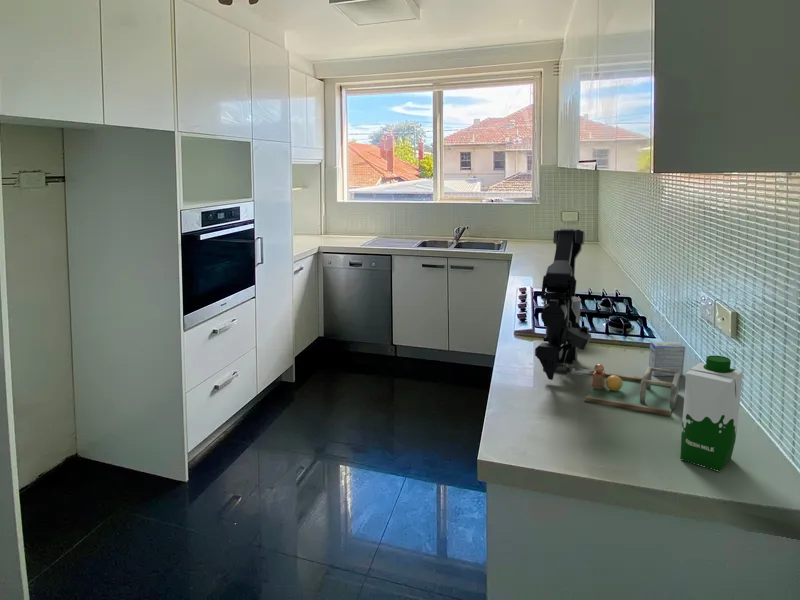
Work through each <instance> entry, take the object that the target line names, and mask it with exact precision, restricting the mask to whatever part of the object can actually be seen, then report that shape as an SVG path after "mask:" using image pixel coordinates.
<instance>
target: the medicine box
mask: <svg viewBox="0 0 800 600" xmlns="http://www.w3.org/2000/svg"><path fill="white" fill-rule="evenodd" d="M685 354H686V346H685V345H684V344H682V343H681V342H679V341H651V342H650V343H649V354H648V355H649V356H648V367H653V368H660V369H668V370H675V371H678V372H680V377H681V376H684V365H685ZM658 376H659V377H660V376H661V377H663V376H664V377H665V376H667V377H669V376H671V377H674V376H675V374H673V373H666V372H659V371H652V377H658Z"/></svg>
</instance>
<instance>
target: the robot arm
mask: <svg viewBox="0 0 800 600" xmlns="http://www.w3.org/2000/svg"><path fill="white" fill-rule="evenodd" d="M585 235H586V234H585V231H582V230H581V228H558V229H556V230H554V231H553V238H552V239H553V242H552V243H553V244H554V245H555V253H554V258H553V262H552V263H551V264H550V265H548V266H547V269H546V273H545V274H543V276H542V277H543V279H542V285H541V293H540V294H541V295H540V299H541V300H546V303H545V306H544V308H543V309H542V310H541V313H540V318H541V321H542V323H543V327H545V336H544V337H543V340H542V341H543V342H541V343H540V344H539V345H538V346H536V348H535V349H534V356H535V357H536V358H537V359H538V361H539V362H540V363H541V366H542V369H543V368H544V370H545V372H544V373H545V375H546V377H547V379H548V380H550V381H552V380H553V379H554V377H555V373H554V372H555V367H556V363H563V364H572V363H574V361H575V360H576V359H577V358H578V354H579V353H578V349H579V350H582V351H585V349H586V348H587V347H588V345H589V343H590V340H591V338H592V334H591V333H590V328H589V327H587V326H585V325H583V326H581V325H580V324H579V322H577V318H578V317H577V315H576V313H575V311H574V309H573V297H576V292H577V291H576V290H577V279H576V277H575V272H576V259H577V258H578V256H579V255H580V253H581V252H582V248H583V247H582V246H583V245H585V239H586V237H585Z"/></svg>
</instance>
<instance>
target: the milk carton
mask: <svg viewBox="0 0 800 600" xmlns="http://www.w3.org/2000/svg"><path fill="white" fill-rule="evenodd" d="M731 363H732V360H731V359H730V358H728V357H726V356H722V355H721V356H720V355H708V356H706V361H705V363H703V362H699V363H697V364H696V365H695V366H693V367H691V368H690V369H689V370H688V371H686V373H685V384H684V386H685V389H684V390H685V391H684V399H683V411H682V423H681V436H680V437H681V438H680V458H679V459H683V460H686V461H689V462H692V463H695V464H699V465H702V466H705V467H708V468H712V469H715V470H718V471H720V470H721V469H722V468H723V469H724V467H725V466H726V465H727V464H728V463H729V462H730V460H731V459H732V456H733V451H734V448H735V447H734V446H735V443H736V439H737V438H736V437H737V430H738V424H739V423H738V420H739V414H740V413H739V412H740V405H741V392H742V383H743V375H744V374H743V373H744V372H743V370H738V369H735V368H731ZM683 460H682V461H683ZM686 461H685V462H686ZM689 462H688V463H689ZM727 462H728V463H727ZM692 463H691V464H692ZM726 463H727V464H726ZM695 464H694V465H695ZM725 464H726V465H725ZM702 466H701V467H702ZM705 467H704V468H705ZM708 468H707V469H708ZM723 469H722V470H723ZM722 470H721V471H722ZM721 471H720V472H721Z"/></svg>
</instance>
